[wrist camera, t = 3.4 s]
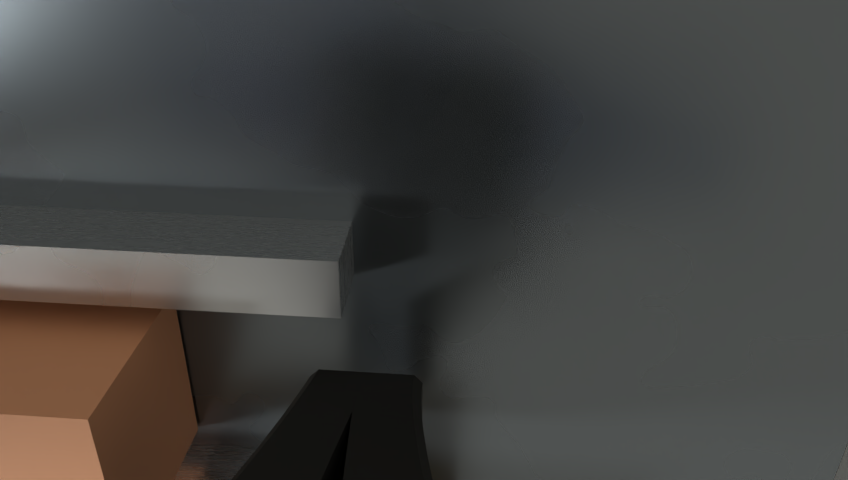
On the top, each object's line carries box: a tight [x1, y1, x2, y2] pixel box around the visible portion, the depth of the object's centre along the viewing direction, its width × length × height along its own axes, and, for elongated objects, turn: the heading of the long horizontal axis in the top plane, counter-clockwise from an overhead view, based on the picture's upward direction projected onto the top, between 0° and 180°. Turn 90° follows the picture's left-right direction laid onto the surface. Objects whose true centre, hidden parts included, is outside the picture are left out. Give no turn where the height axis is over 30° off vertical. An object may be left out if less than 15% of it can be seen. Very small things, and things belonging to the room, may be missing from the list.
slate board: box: [0, 0, 848, 480], centre depth 12 cm, size 22×17×3 cm
